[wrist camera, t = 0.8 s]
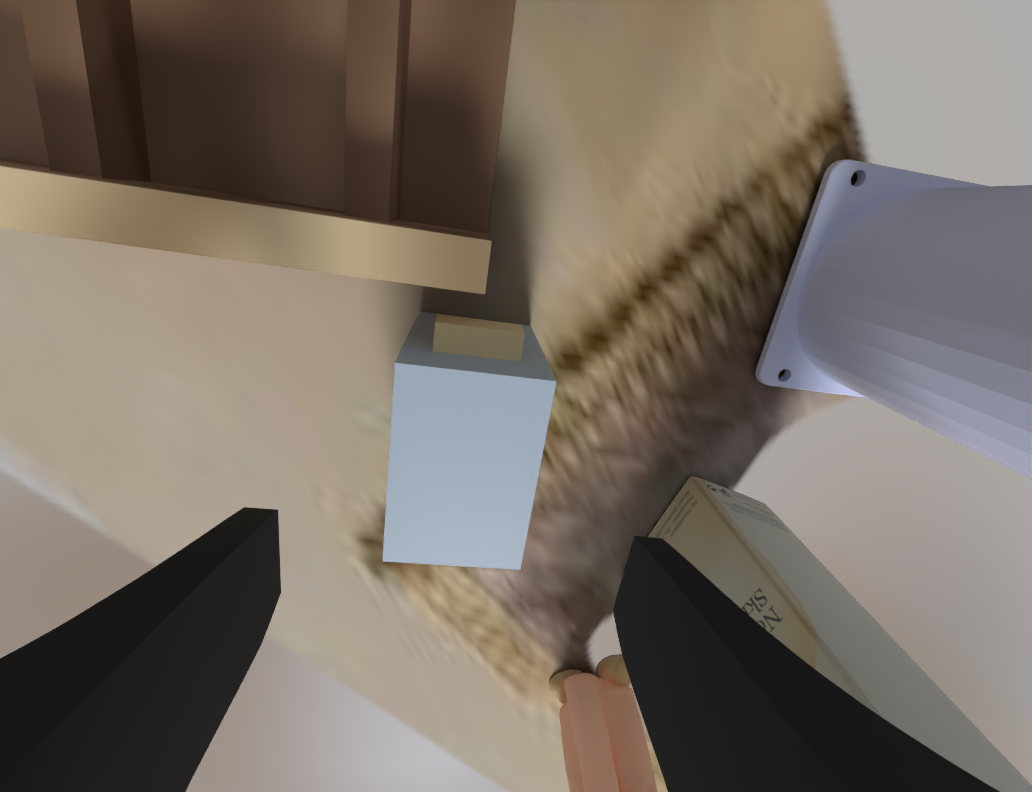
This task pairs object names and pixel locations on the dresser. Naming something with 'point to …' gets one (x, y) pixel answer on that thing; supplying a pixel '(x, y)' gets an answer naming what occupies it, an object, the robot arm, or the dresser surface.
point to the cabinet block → (465, 442)
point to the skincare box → (821, 621)
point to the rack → (260, 130)
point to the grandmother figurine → (602, 730)
